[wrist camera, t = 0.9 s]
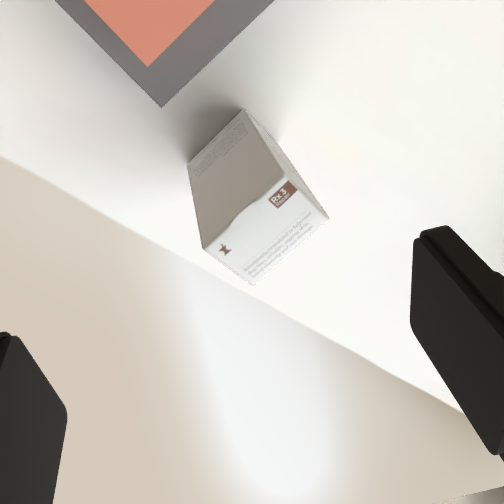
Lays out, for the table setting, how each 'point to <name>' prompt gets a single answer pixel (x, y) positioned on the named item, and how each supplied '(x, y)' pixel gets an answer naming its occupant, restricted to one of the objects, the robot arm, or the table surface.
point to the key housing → (172, 44)
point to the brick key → (148, 22)
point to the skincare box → (250, 200)
